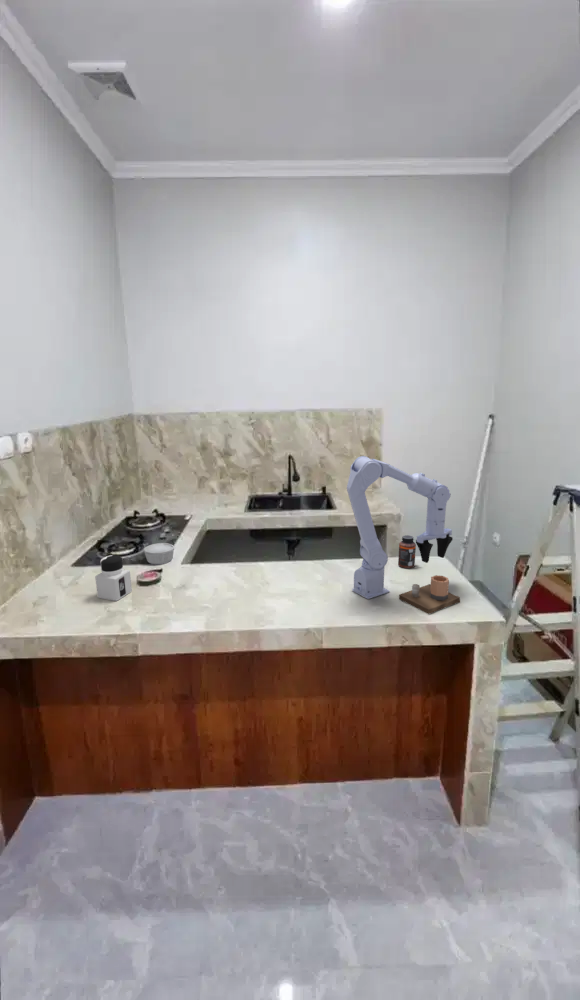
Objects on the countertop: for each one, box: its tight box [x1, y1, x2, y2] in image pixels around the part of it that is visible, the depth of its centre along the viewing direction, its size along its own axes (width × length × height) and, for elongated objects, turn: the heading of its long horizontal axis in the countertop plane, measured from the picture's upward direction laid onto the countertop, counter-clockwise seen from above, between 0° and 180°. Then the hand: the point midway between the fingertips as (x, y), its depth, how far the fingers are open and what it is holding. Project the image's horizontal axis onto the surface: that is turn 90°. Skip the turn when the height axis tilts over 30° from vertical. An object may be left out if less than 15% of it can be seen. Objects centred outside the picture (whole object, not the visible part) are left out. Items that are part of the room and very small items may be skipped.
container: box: [95, 554, 133, 602], centre depth 152 cm, size 8×8×13 cm
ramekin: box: [143, 542, 175, 565], centre depth 183 cm, size 11×11×5 cm
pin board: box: [398, 583, 461, 615], centre depth 147 cm, size 14×12×5 cm
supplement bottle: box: [397, 534, 417, 569], centre depth 173 cm, size 6×6×11 cm
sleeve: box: [430, 575, 450, 601], centre depth 146 cm, size 5×5×6 cm
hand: (433, 559), depth 155 cm, fingers open, 7 cm apart
